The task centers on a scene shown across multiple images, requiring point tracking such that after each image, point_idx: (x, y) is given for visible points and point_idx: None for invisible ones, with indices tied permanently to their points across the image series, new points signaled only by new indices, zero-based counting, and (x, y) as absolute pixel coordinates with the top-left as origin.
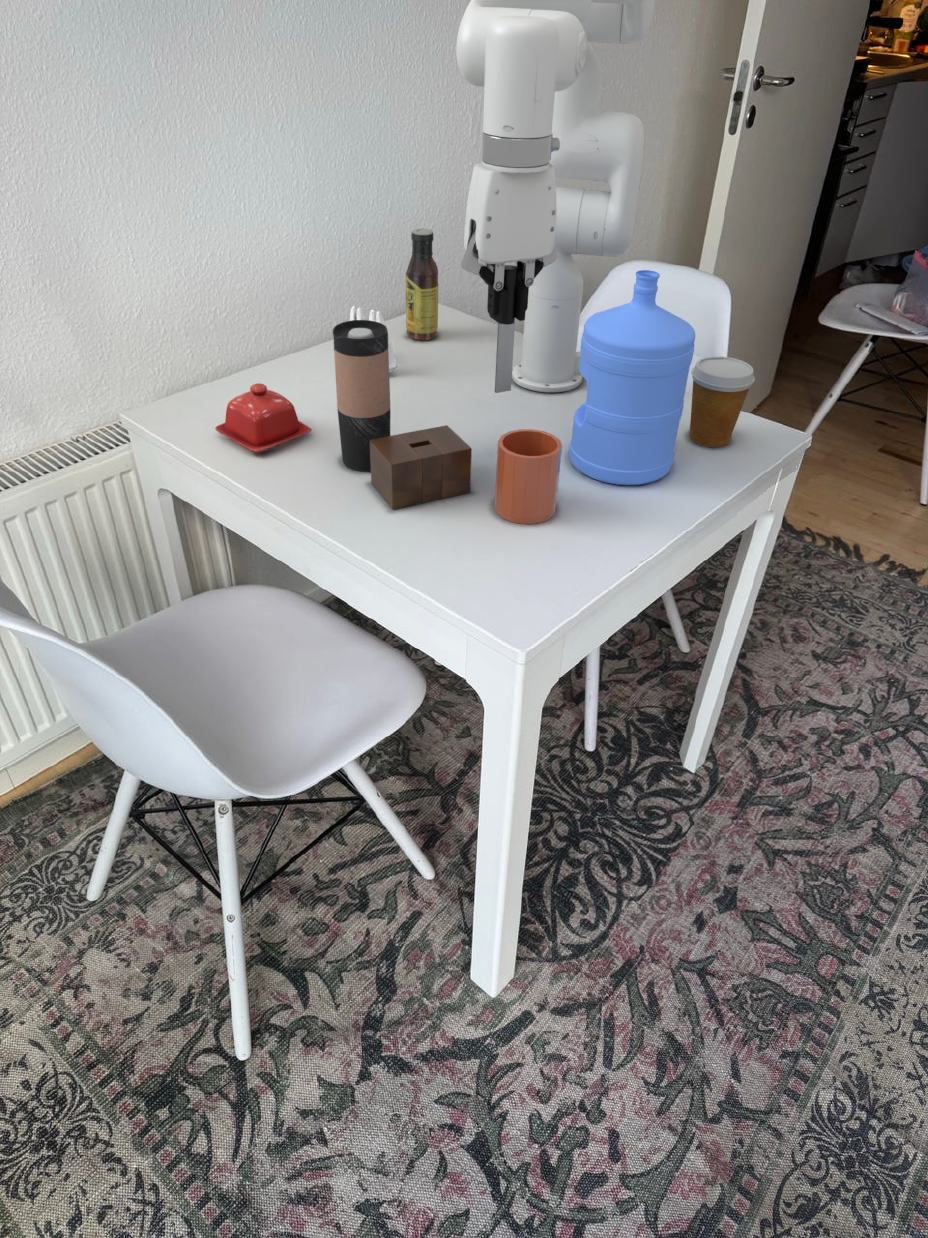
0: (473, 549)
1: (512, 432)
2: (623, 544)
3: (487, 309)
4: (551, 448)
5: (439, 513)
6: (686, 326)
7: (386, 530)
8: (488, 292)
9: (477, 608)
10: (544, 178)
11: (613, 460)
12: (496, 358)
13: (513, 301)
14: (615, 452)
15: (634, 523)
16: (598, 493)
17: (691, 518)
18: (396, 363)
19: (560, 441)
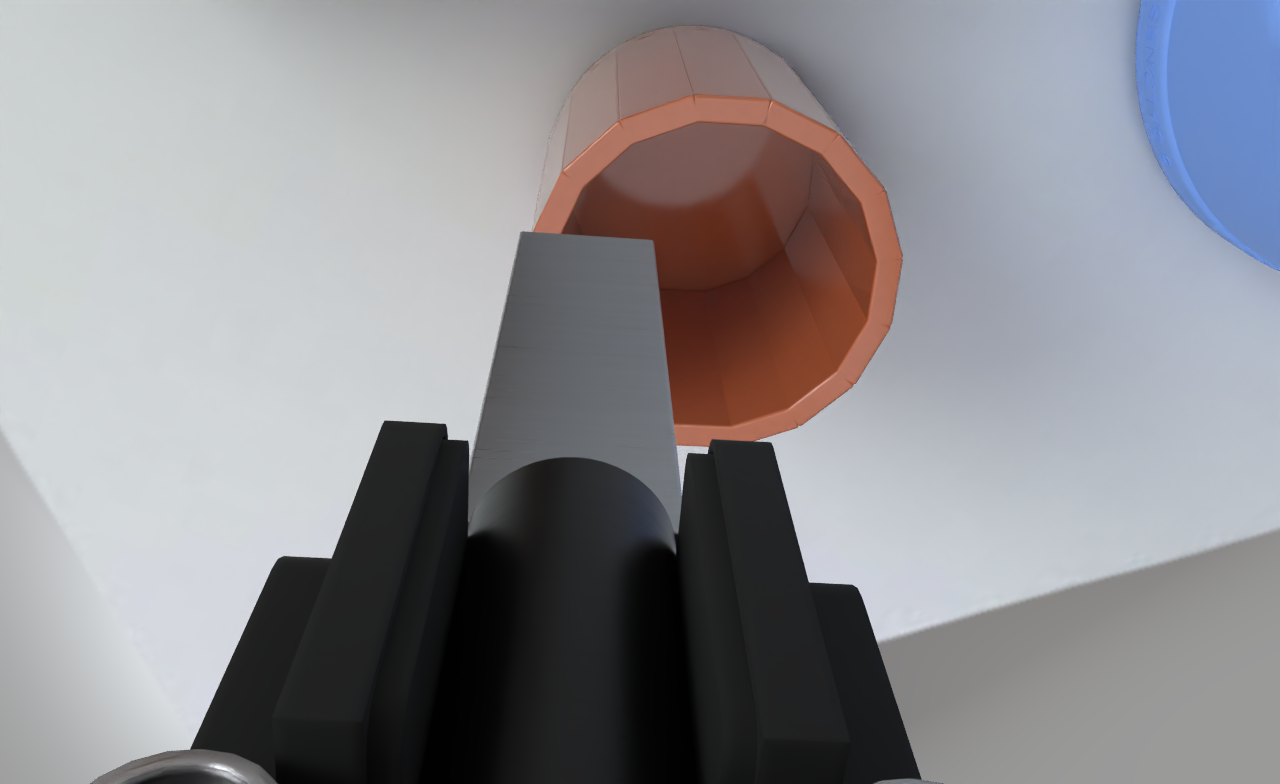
0: (323, 341)
1: (702, 117)
2: (866, 550)
3: (281, 557)
4: (858, 261)
5: (298, 19)
6: None
7: (5, 40)
8: (203, 741)
9: (190, 628)
10: None
11: (1227, 215)
12: (496, 343)
13: None
14: (1251, 235)
15: (1010, 462)
16: (1067, 208)
17: (1222, 525)
18: None
19: (880, 342)
